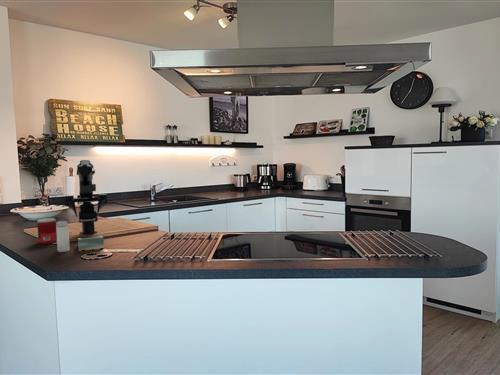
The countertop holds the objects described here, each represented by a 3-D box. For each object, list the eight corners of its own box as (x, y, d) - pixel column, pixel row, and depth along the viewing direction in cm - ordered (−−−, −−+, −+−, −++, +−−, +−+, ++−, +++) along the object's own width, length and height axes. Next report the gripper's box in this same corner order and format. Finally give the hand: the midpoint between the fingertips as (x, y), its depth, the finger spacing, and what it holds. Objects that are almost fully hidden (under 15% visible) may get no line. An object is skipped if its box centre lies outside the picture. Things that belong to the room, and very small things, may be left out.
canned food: (60, 240, 183) (59, 218, 182) (45, 244, 176) (44, 221, 175) (50, 239, 186) (48, 217, 185) (35, 243, 179) (33, 220, 178)
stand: (78, 245, 174) (77, 234, 174) (102, 243, 179) (101, 232, 178) (78, 251, 165) (78, 239, 164) (103, 248, 169) (103, 237, 168)
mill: (55, 250, 165) (53, 222, 164) (66, 248, 169) (64, 220, 168) (61, 252, 162) (59, 223, 161) (71, 250, 166) (70, 221, 165)
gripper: (63, 178, 171) (63, 208, 163) (106, 177, 178) (108, 205, 171) (65, 191, 179) (65, 220, 172) (106, 190, 187) (108, 217, 179)
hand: (87, 215), depth 173 cm, fingers open, 9 cm apart
